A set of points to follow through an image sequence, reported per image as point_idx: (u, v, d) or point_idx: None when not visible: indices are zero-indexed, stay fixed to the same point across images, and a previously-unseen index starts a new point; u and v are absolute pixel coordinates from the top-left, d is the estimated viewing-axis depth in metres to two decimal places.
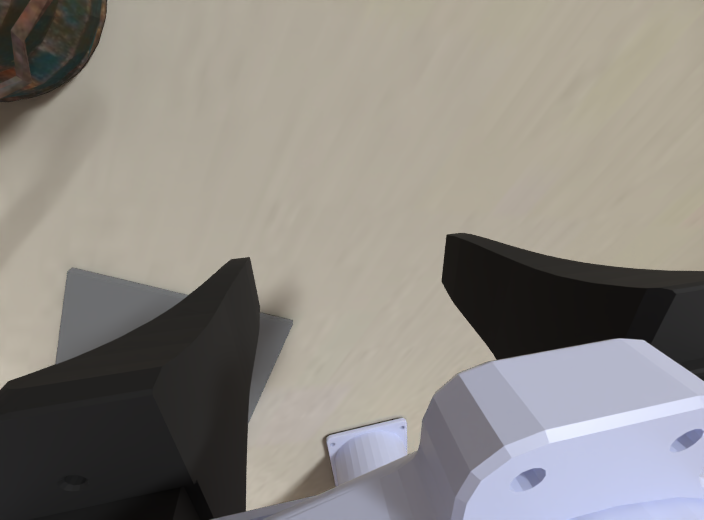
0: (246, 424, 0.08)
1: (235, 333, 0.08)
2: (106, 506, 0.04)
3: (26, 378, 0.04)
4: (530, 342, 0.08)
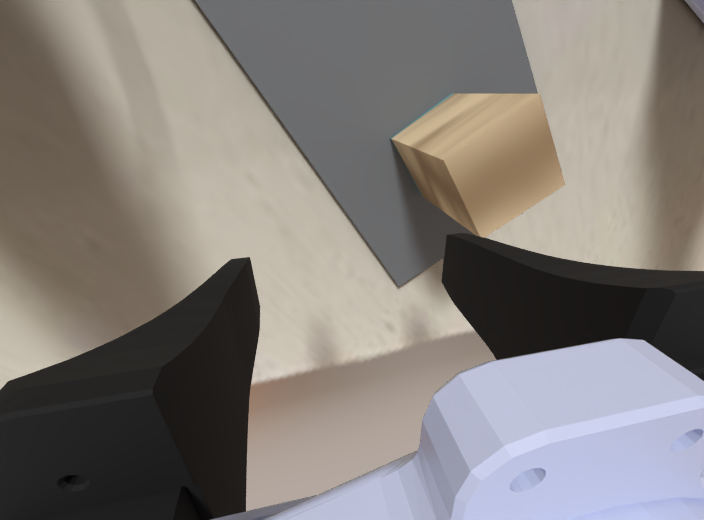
0: (246, 424, 0.08)
1: (235, 333, 0.08)
2: (106, 506, 0.04)
3: (26, 378, 0.04)
4: (530, 342, 0.08)
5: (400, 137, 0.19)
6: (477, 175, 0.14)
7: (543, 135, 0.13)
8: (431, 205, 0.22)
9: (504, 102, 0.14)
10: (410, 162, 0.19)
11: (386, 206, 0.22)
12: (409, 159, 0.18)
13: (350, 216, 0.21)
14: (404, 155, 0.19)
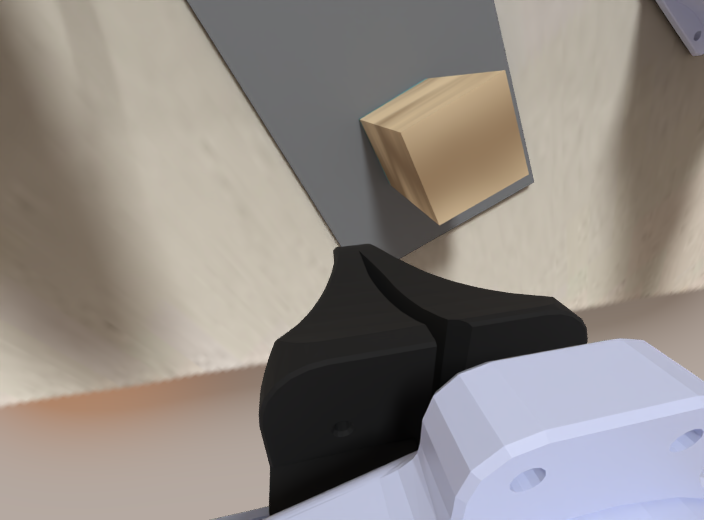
0: None
1: None
2: (356, 452, 0.05)
3: (292, 337, 0.05)
4: None
5: (368, 117, 0.18)
6: (436, 153, 0.13)
7: (507, 116, 0.13)
8: (399, 196, 0.21)
9: (470, 80, 0.13)
10: (376, 144, 0.18)
11: (352, 192, 0.21)
12: (375, 141, 0.18)
13: (313, 199, 0.20)
14: (371, 137, 0.18)
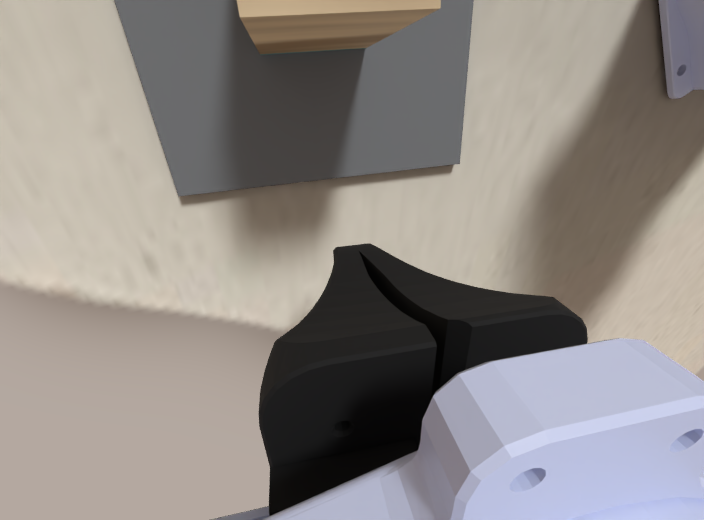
0: None
1: None
2: (356, 452, 0.05)
3: (292, 337, 0.05)
4: None
5: None
6: None
7: None
8: (271, 84, 0.14)
9: None
10: None
11: (195, 35, 0.13)
12: None
13: (120, 9, 0.12)
14: None
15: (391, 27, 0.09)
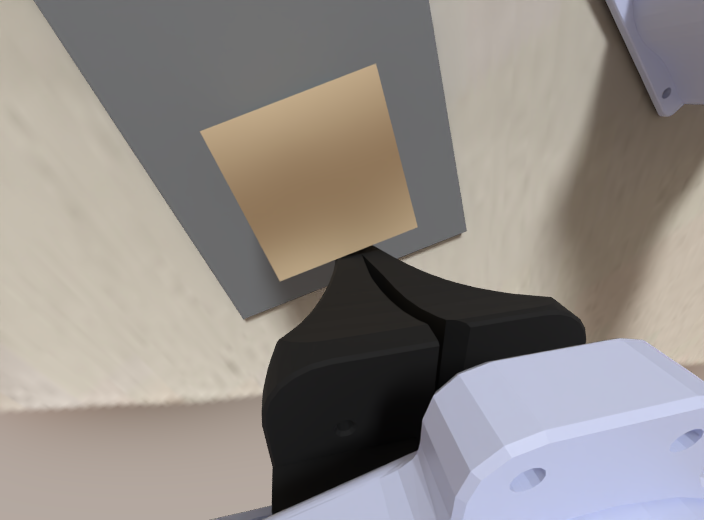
0: None
1: None
2: (359, 452, 0.05)
3: (295, 337, 0.05)
4: None
5: None
6: (267, 174, 0.08)
7: (381, 138, 0.08)
8: None
9: None
10: None
11: (230, 210, 0.16)
12: None
13: (175, 211, 0.15)
14: None
15: None
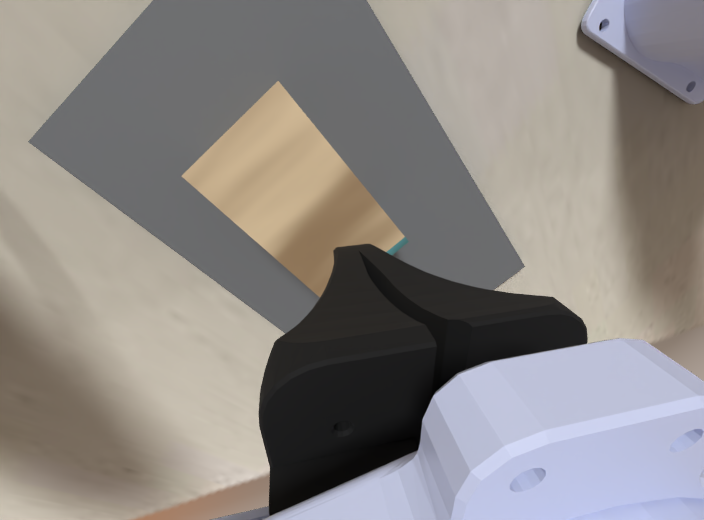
0: None
1: None
2: (356, 452, 0.05)
3: (292, 337, 0.05)
4: None
5: None
6: None
7: None
8: None
9: None
10: None
11: None
12: None
13: None
14: None
15: (316, 148, 0.11)
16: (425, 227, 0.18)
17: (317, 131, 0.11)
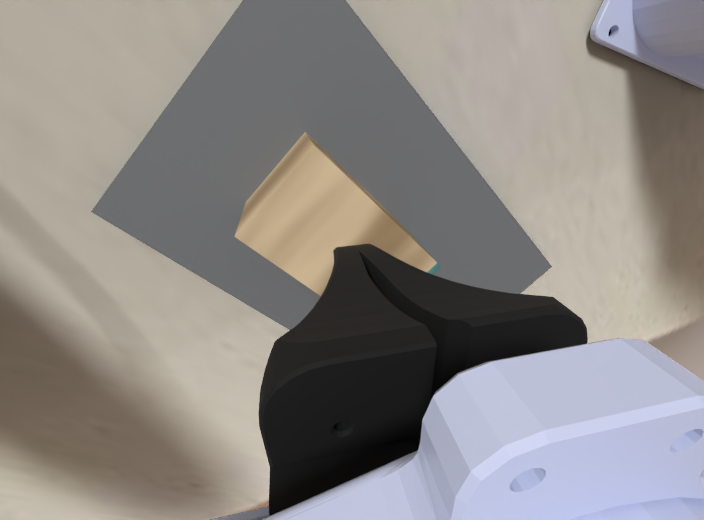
0: None
1: None
2: (356, 452, 0.05)
3: (292, 337, 0.05)
4: None
5: None
6: (256, 194, 0.14)
7: (302, 141, 0.14)
8: None
9: None
10: None
11: None
12: None
13: None
14: None
15: (350, 197, 0.12)
16: (451, 241, 0.19)
17: (351, 182, 0.12)
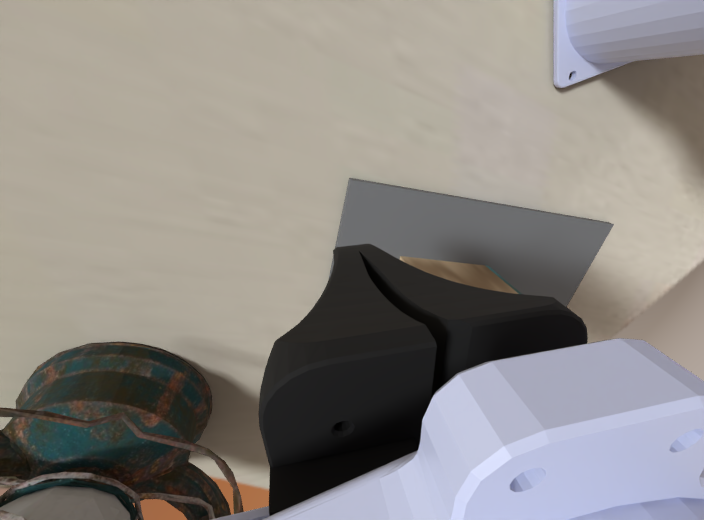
0: None
1: None
2: (356, 452, 0.05)
3: (292, 337, 0.05)
4: None
5: None
6: None
7: None
8: None
9: None
10: None
11: None
12: None
13: None
14: None
15: None
16: (523, 254, 0.26)
17: None
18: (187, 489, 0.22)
